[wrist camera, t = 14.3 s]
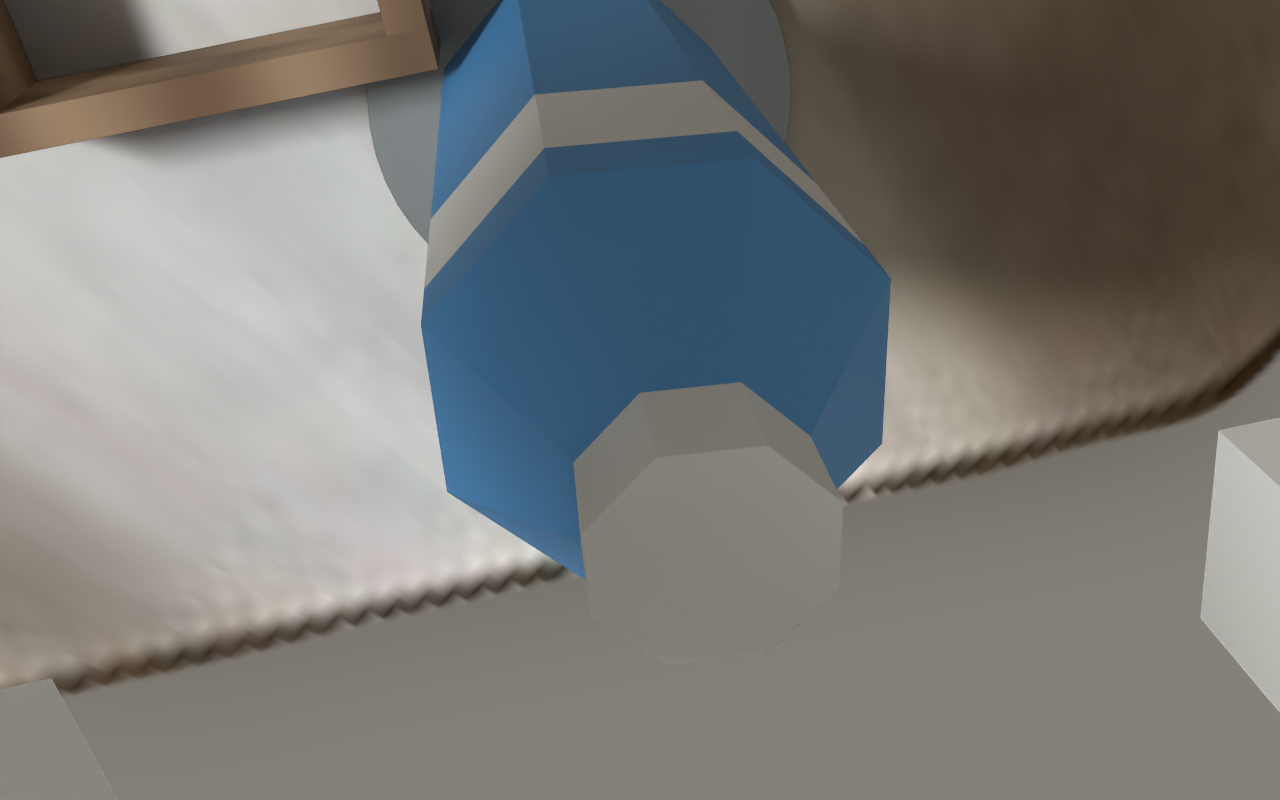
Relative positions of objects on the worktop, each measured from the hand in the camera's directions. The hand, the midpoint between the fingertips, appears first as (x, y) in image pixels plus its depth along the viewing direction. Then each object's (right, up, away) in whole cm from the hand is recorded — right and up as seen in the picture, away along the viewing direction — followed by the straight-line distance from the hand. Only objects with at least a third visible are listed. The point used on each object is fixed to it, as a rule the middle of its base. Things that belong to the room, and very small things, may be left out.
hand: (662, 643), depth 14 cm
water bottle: (-2, +12, +26) cm, 29 cm away
